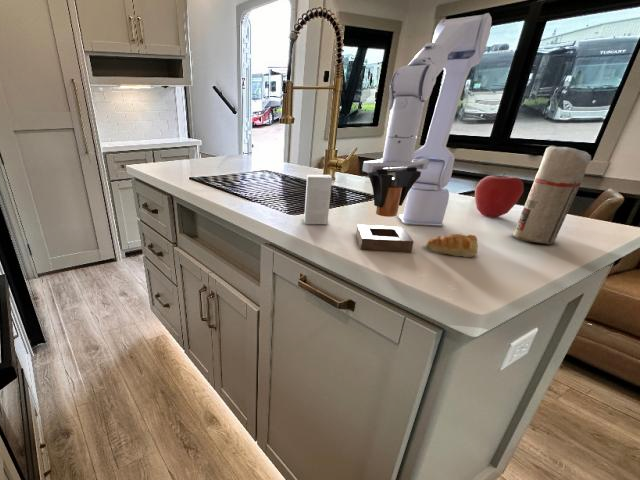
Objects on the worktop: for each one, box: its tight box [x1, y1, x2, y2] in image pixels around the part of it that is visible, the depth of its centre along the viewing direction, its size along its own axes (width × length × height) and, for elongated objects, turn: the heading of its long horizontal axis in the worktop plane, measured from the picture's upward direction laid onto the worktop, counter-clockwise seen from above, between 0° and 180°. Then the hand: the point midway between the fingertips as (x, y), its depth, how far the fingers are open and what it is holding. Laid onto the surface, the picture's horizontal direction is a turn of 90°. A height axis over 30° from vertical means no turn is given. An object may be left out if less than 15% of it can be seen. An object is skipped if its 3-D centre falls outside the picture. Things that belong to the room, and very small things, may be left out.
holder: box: [355, 224, 415, 253], centre depth 81 cm, size 10×10×2 cm
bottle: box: [375, 177, 403, 218], centre depth 77 cm, size 4×4×8 cm
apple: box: [474, 172, 525, 218], centre depth 99 cm, size 11×11×12 cm
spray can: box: [512, 145, 592, 245], centre depth 79 cm, size 8×8×20 cm
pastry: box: [425, 233, 479, 258], centre depth 76 cm, size 9×7×4 cm
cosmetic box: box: [303, 174, 333, 225], centre depth 93 cm, size 6×4×12 cm
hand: (388, 205), depth 78 cm, fingers closed on bottle, 4 cm apart
